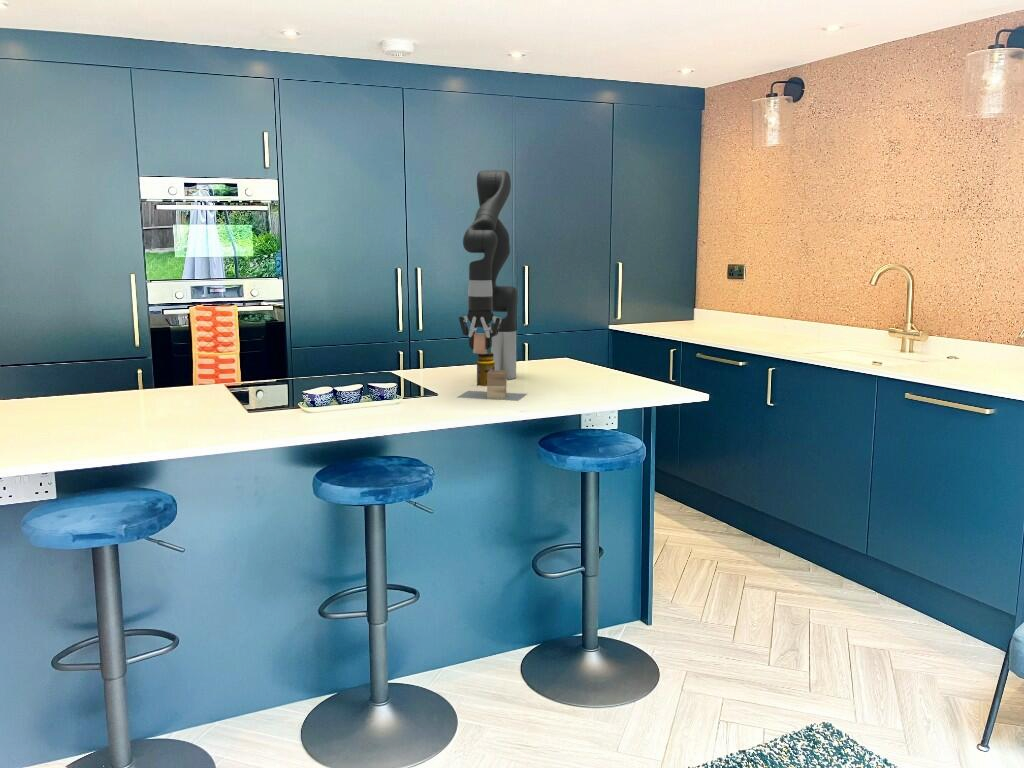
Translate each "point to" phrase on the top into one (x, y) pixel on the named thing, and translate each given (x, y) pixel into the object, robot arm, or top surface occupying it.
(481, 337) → the pink cylinder
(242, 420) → the top surface
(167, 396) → the top surface
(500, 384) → the block top
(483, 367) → the condiment
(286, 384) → the top surface
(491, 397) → the block base
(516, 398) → the board
